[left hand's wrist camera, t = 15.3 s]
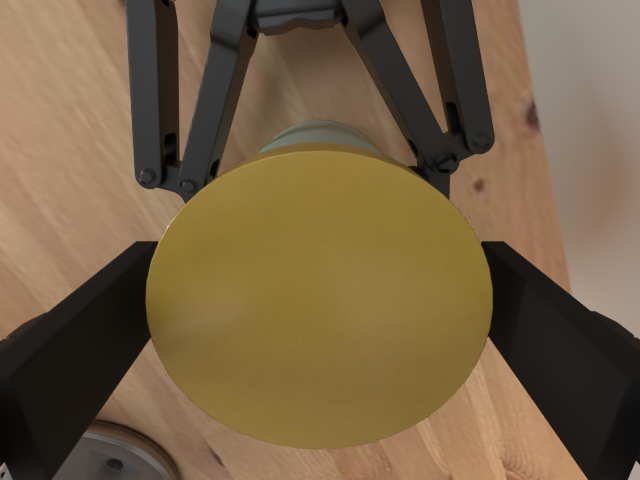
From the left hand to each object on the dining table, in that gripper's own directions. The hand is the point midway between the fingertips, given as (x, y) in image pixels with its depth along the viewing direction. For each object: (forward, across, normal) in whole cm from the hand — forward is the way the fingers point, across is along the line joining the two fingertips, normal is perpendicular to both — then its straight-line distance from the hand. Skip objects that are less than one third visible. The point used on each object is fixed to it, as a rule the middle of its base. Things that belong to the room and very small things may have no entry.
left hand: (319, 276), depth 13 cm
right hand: (+6, 0, -4) cm, 8 cm away
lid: (-3, 0, 0) cm, 3 cm away
